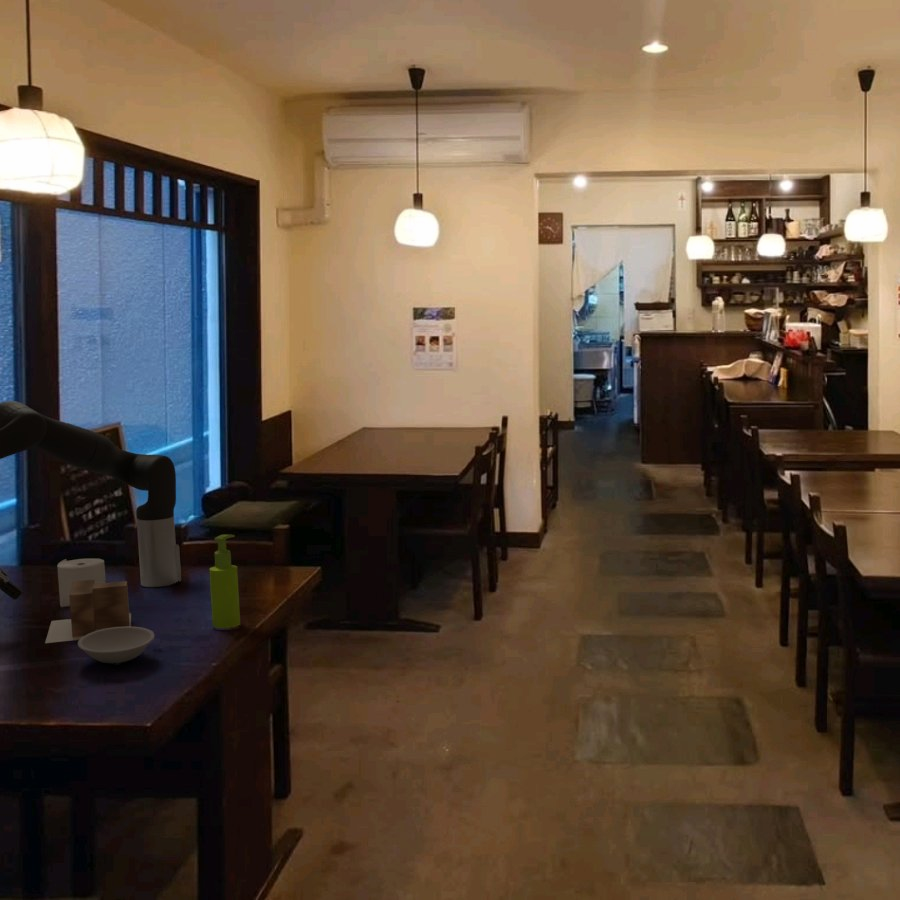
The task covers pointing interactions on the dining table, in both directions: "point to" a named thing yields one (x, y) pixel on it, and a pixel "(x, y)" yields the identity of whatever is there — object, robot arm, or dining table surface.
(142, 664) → the dining table surface
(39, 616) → the dining table surface
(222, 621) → the soap dispenser
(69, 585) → the toilet tissue
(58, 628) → the board
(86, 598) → the t block
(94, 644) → the dish
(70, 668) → the dining table surface
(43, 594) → the dining table surface
